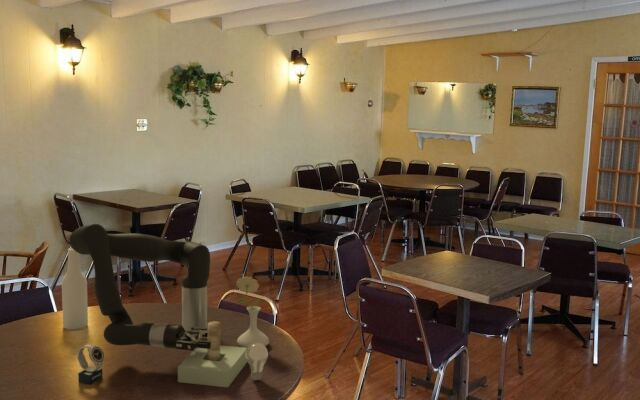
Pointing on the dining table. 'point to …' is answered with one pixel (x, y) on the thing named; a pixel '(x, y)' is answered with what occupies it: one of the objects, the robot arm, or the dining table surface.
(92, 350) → the watch
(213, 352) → the peg
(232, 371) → the hole block
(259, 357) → the light bulb
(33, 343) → the dining table surface
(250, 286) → the flower in vase
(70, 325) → the alcohol
